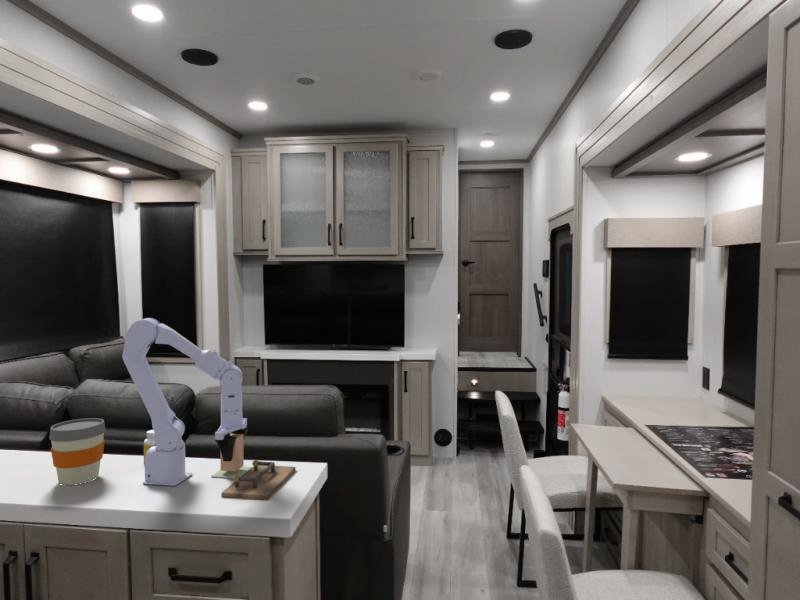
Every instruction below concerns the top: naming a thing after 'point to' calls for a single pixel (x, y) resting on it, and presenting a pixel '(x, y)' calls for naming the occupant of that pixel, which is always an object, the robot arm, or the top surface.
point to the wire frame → (258, 481)
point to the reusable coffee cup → (77, 449)
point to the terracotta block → (234, 455)
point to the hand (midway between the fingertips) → (232, 457)
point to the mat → (231, 473)
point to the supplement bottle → (149, 442)
